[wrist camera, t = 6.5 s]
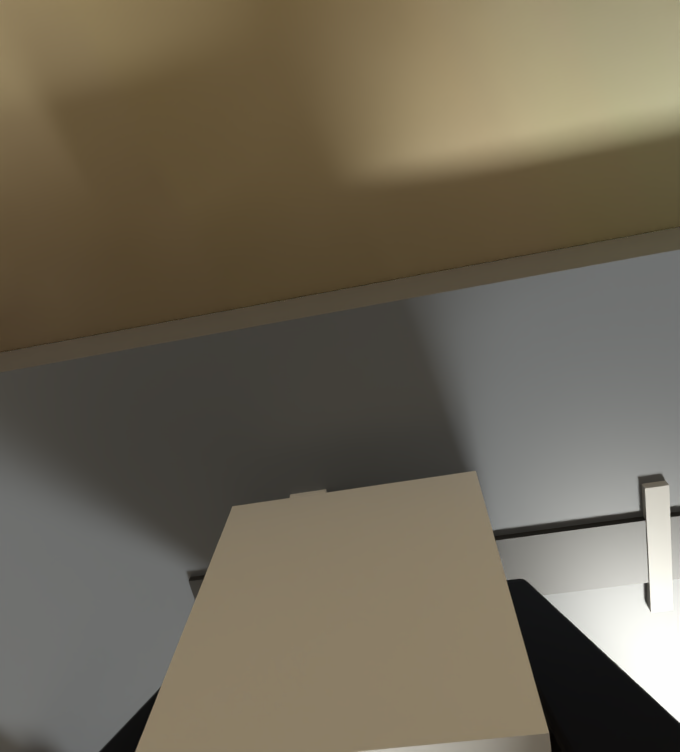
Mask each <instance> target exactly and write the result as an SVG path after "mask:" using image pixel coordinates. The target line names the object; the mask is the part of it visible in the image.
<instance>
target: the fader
mask: <svg viewBox="0 0 680 752" xmlns="http://www.w3.org/2000/svg"><path fill="white" fill-rule="evenodd" d="M135 752H551V744H550V735H549V731H548V727H547V723H546V720H545V716H544V713H543V709H542V706H541V702H540V698H539V695H538V691H537V688H536V684H535V681H534V677H533V673H532V670H531V666H530V663H529V659H528V656H527V652H526V648H525V645H524V641H523V638H522V634H521V631H520V627H519V623H518V620H517V616H516V613H515V609H514V606H513V602H512V598H511V595H510V591H509V588H508V584H507V581H506V577H505V573H504V570H503V566H502V563H501V559H500V556H499V552H498V548H497V545H496V541H495V538H494V534H493V531H492V527H491V523H490V520H489V516H488V513H487V509H486V505H485V502H484V498H483V495H482V491H481V488H480V484H479V480H478V477H477V473H476V471H471V472H464V473H457V474H450V475H443V476H436V477H430V478H423V479H416V480H409V481H402V482H395V483H389V484H382V485H375V486H368V487H361V488H354V489H348V490H341V491H334V492H327V493H320V494H313V495H307V496H300V497H293V498H286V499H279V500H272V501H266V502H259V503H252V504H245V505H238V506H232V509H231V511H230V514H229V517H228V519H227V522H226V524H225V527H224V529H223V532H222V534H221V537H220V539H219V542H218V544H217V547H216V549H215V552H214V554H213V557H212V559H211V562H210V564H209V567H208V569H207V572H206V574H205V577H204V580H203V582H202V585H201V587H200V590H199V592H198V595H197V597H196V600H195V602H194V605H193V607H192V610H191V612H190V615H189V617H188V620H187V622H186V625H185V627H184V630H183V632H182V635H181V637H180V640H179V643H178V645H177V648H176V650H175V653H174V655H173V658H172V660H171V663H170V665H169V668H168V670H167V673H166V675H165V678H164V680H163V683H162V685H161V688H160V690H159V693H158V695H157V698H156V700H155V703H154V706H153V708H152V711H151V713H150V716H149V718H148V721H147V723H146V726H145V728H144V731H143V733H142V736H141V738H140V741H139V743H138V746H137V748H136V751H135Z"/></svg>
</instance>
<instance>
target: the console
mask: <svg viewBox="0 0 680 752" xmlns="http://www.w3.org/2000/svg"><path fill="white" fill-rule="evenodd" d="M471 471H476V473H477V477H478V480H479V484H480V488H481V491H482V495H483V498H484V502H485V505H486V509H487V513H488V516H489V520H490V523H491V527H492V531H493V534H494V538H495V541H496V545H497V548H498V552H499V556H500V559H501V563H502V566H503V570H504V573H505V577H506V580H511V579H524V580H526V581H527V582H529V583H530V584H531V585H532V586H533V587H534V588H535V589H536V590H537V591H538V592H539V593H540V594H541V595H543V596H544V597H545V598H546V599H547V600H548V601H549V602H550V603H551V604H552V605H553V606H554V607H555V608H557V609H558V610H559V611H560V612H561V613H562V614H563V615H564V616H565V617H566V618H567V619H568V620H570V621H571V622H572V623H573V624H574V625H575V626H576V627H577V628H578V629H579V630H580V631H581V632H582V633H584V634H585V635H586V636H587V637H588V638H589V639H590V640H591V641H592V642H593V643H594V644H595V645H596V646H598V647H599V648H600V649H601V650H602V651H603V652H604V653H605V654H606V655H607V656H608V657H609V658H610V659H612V660H613V661H614V662H615V663H616V664H617V665H618V666H619V667H620V668H621V669H622V670H623V671H625V672H626V673H627V674H628V675H629V676H630V677H631V678H632V679H633V680H634V681H635V682H636V683H637V684H639V685H640V686H641V687H642V688H643V689H644V690H645V691H646V692H647V693H648V694H649V695H650V696H651V697H653V698H654V699H655V700H656V701H657V702H658V703H659V704H660V705H661V706H662V707H663V708H664V709H666V710H667V711H668V712H669V713H670V714H671V715H672V716H673V717H674V718H675V719H676V720H677V721H678V722H680V227H677V228H671V229H666V230H660V231H655V232H650V233H644V234H639V235H633V236H628V237H623V238H617V239H612V240H606V241H601V242H596V243H590V244H585V245H579V246H574V247H568V248H563V249H558V250H552V251H547V252H541V253H536V254H531V255H525V256H520V257H514V258H509V259H504V260H498V261H493V262H487V263H482V264H477V265H471V266H466V267H460V268H455V269H450V270H444V271H439V272H433V273H428V274H423V275H417V276H412V277H406V278H401V279H396V280H390V281H385V282H379V283H374V284H369V285H363V286H358V287H352V288H347V289H342V290H336V291H331V292H325V293H320V294H315V295H309V296H304V297H298V298H293V299H288V300H282V301H277V302H271V303H266V304H261V305H255V306H250V307H244V308H239V309H234V310H228V311H223V312H217V313H212V314H207V315H201V316H196V317H190V318H185V319H180V320H174V321H169V322H163V323H158V324H152V325H147V326H142V327H136V328H131V329H125V330H120V331H115V332H109V333H104V334H98V335H93V336H88V337H82V338H77V339H71V340H66V341H61V342H55V343H50V344H44V345H39V346H34V347H28V348H23V349H17V350H12V351H7V352H1V353H0V752H99V751H100V750H101V749H102V748H103V747H104V746H105V745H106V744H107V743H108V742H109V741H110V740H111V738H112V737H113V736H114V735H115V734H116V733H117V732H118V731H119V730H120V729H121V728H122V727H123V726H124V725H125V724H126V723H127V722H128V721H129V720H130V719H131V718H132V716H133V715H134V714H135V713H136V712H137V711H138V710H139V709H140V708H141V707H142V706H143V705H144V704H145V703H146V702H147V701H148V700H149V699H150V698H151V697H152V695H153V694H154V693H155V692H156V691H157V690H158V689H159V688H160V687H161V685H162V683H163V680H164V678H165V675H166V673H167V670H168V668H169V665H170V663H171V660H172V658H173V655H174V653H175V650H176V648H177V645H178V643H179V640H180V637H181V635H182V632H183V630H184V627H185V625H186V622H187V620H188V617H189V615H190V612H191V610H192V607H193V605H194V602H195V600H196V597H197V595H198V592H199V590H200V587H201V585H202V582H203V580H204V577H205V574H206V572H207V569H208V567H209V564H210V562H211V559H212V557H213V554H214V552H215V549H216V547H217V544H218V542H219V539H220V537H221V534H222V532H223V529H224V527H225V524H226V522H227V519H228V517H229V514H230V511H231V509H232V506H238V505H245V504H252V503H259V502H266V501H272V500H279V499H286V498H293V497H300V496H307V495H313V494H320V493H327V492H334V491H341V490H348V489H354V488H361V487H368V486H375V485H382V484H389V483H395V482H402V481H409V480H416V479H423V478H430V477H436V476H443V475H450V474H457V473H464V472H471Z"/></svg>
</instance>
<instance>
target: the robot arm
mask: <svg viewBox="0 0 680 752" xmlns="http://www.w3.org/2000/svg"><path fill="white" fill-rule="evenodd" d="M506 581H507V584H508V588H509V591H510V595H511V598H512V602H513V606H514V609H515V613H516V616H517V620H518V623H519V627H520V631H521V634H522V638H523V641H524V645H525V648H526V652H527V656H528V659H529V663H530V666H531V670H532V673H533V677H534V681H535V684H536V688H537V691H538V695H539V698H540V702H541V706H542V709H543V713H544V716H545V720H546V723H547V727H548V731H549V735H550V744H551V752H680V722H678V721H677V720H676V719H675V718H674V717H673V716H672V715H671V714H670V713H669V712H668V711H667V710H666V709H664V708H663V707H662V706H661V705H660V704H659V703H658V702H657V701H656V700H655V699H654V698H653V697H651V696H650V695H649V694H648V693H647V692H646V691H645V690H644V689H643V688H642V687H641V686H640V685H639V684H637V683H636V682H635V681H634V680H633V679H632V678H631V677H630V676H629V675H628V674H627V673H626V672H625V671H623V670H622V669H621V668H620V667H619V666H618V665H617V664H616V663H615V662H614V661H613V660H612V659H610V658H609V657H608V656H607V655H606V654H605V653H604V652H603V651H602V650H601V649H600V648H599V647H598V646H596V645H595V644H594V643H593V642H592V641H591V640H590V639H589V638H588V637H587V636H586V635H585V634H584V633H582V632H581V631H580V630H579V629H578V628H577V627H576V626H575V625H574V624H573V623H572V622H571V621H570V620H568V619H567V618H566V617H565V616H564V615H563V614H562V613H561V612H560V611H559V610H558V609H557V608H555V607H554V606H553V605H552V604H551V603H550V602H549V601H548V600H547V599H546V598H545V597H544V596H543V595H541V594H540V593H539V592H538V591H537V590H536V589H535V588H534V587H533V586H532V585H531V584H530V583H529V582H527V581H526V580H524V579H511V580H506ZM160 688H161V687H160ZM160 688H159V689H158V690H157V691H156V692H155V693H154V694H153V695H152V697H151V698H150V699H149V700H148V701H147V702H146V703H145V704H144V705H143V706H142V707H141V708H140V709H139V710H138V711H137V712H136V713H135V714H134V715H133V716H132V718H131V719H130V720H129V721H128V722H127V723H126V724H125V725H124V726H123V727H122V728H121V729H120V730H119V731H118V732H117V733H116V734H115V735H114V736H113V737H112V738H111V740H110V741H109V742H108V743H107V744H106V745H105V746H104V747H103V748H102V749H101V750H100V751H99V752H135V751H136V748H137V746H138V743H139V741H140V738H141V736H142V733H143V731H144V728H145V726H146V723H147V721H148V718H149V716H150V713H151V711H152V708H153V706H154V703H155V700H156V698H157V695H158V693H159V690H160Z"/></svg>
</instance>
